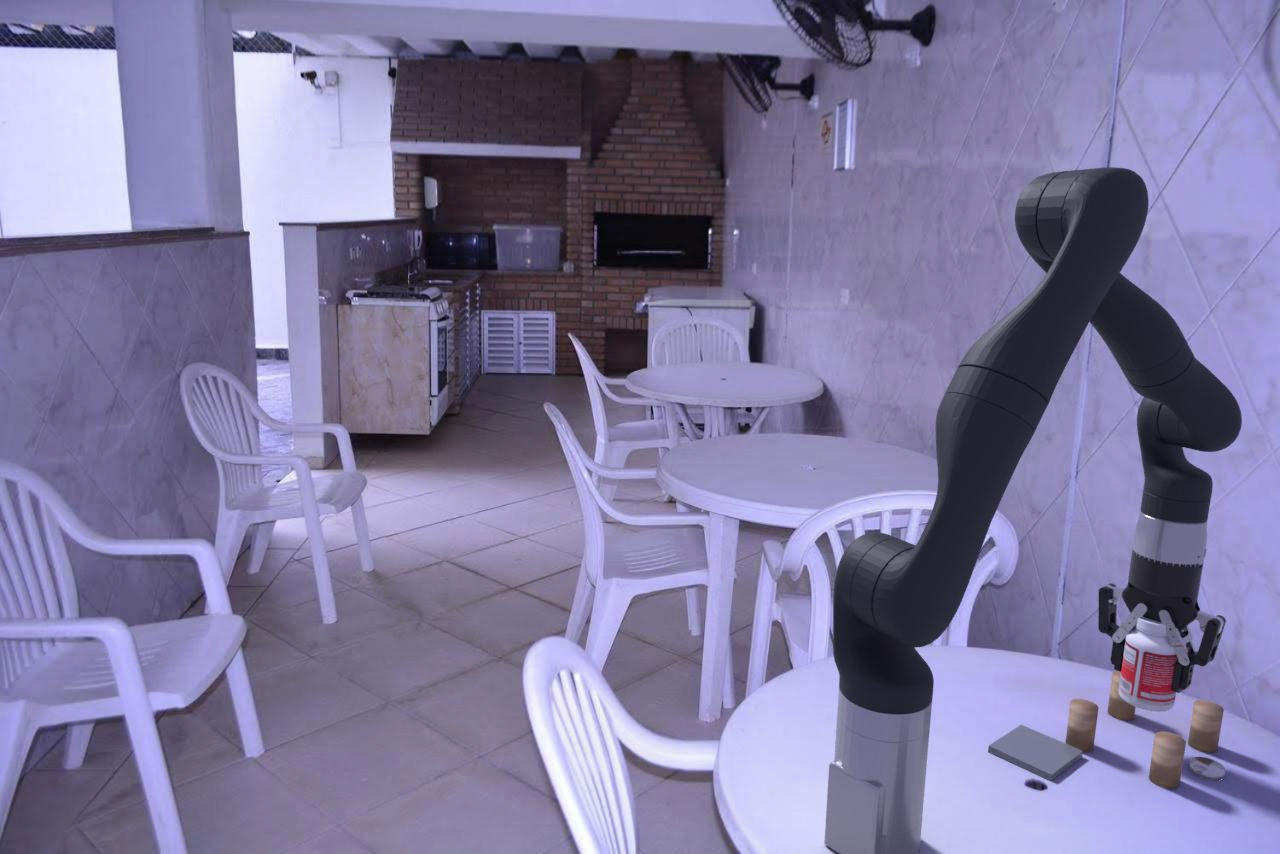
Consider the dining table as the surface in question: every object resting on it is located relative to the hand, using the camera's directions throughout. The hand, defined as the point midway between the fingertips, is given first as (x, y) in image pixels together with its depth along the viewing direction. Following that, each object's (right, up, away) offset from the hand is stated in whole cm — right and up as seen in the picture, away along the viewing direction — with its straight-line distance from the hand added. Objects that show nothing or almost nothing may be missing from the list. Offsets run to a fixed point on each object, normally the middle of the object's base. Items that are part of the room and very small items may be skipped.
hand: (1148, 679), depth 114 cm
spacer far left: (+8, -9, +2) cm, 12 cm away
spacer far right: (+2, -7, +10) cm, 12 cm away
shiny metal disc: (+5, -10, -3) cm, 12 cm away
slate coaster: (-14, -9, 0) cm, 17 cm away
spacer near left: (-1, -11, -5) cm, 12 cm away
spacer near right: (-8, -9, +2) cm, 12 cm away
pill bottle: (0, -3, +1) cm, 3 cm away
